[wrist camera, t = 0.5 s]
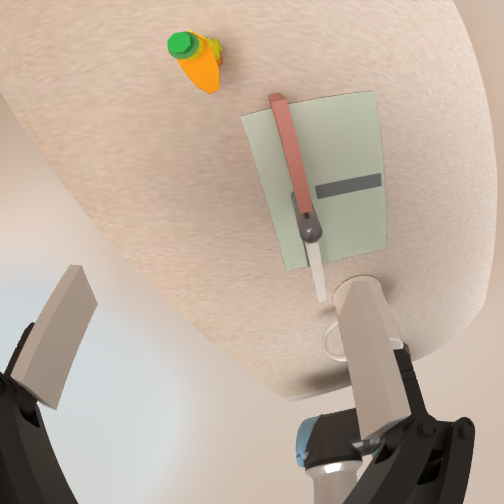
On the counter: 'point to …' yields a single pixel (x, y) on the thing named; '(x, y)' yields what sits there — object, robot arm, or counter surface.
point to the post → (307, 223)
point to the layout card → (325, 175)
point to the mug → (381, 304)
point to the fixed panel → (316, 270)
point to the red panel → (291, 151)
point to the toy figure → (197, 58)
